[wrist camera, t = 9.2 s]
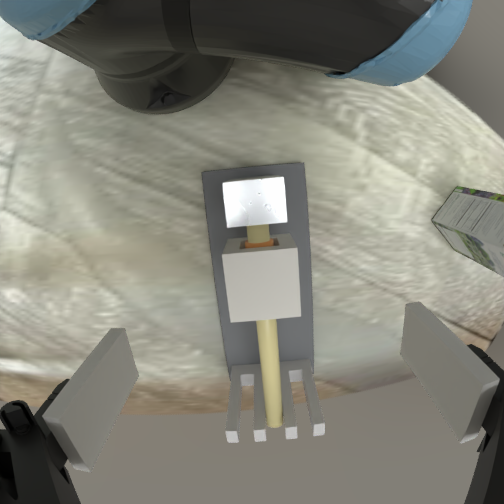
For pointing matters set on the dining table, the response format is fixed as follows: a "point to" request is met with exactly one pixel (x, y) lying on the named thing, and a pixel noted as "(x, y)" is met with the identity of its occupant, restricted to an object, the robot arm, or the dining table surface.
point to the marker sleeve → (262, 279)
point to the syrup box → (474, 226)
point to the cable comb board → (299, 232)
